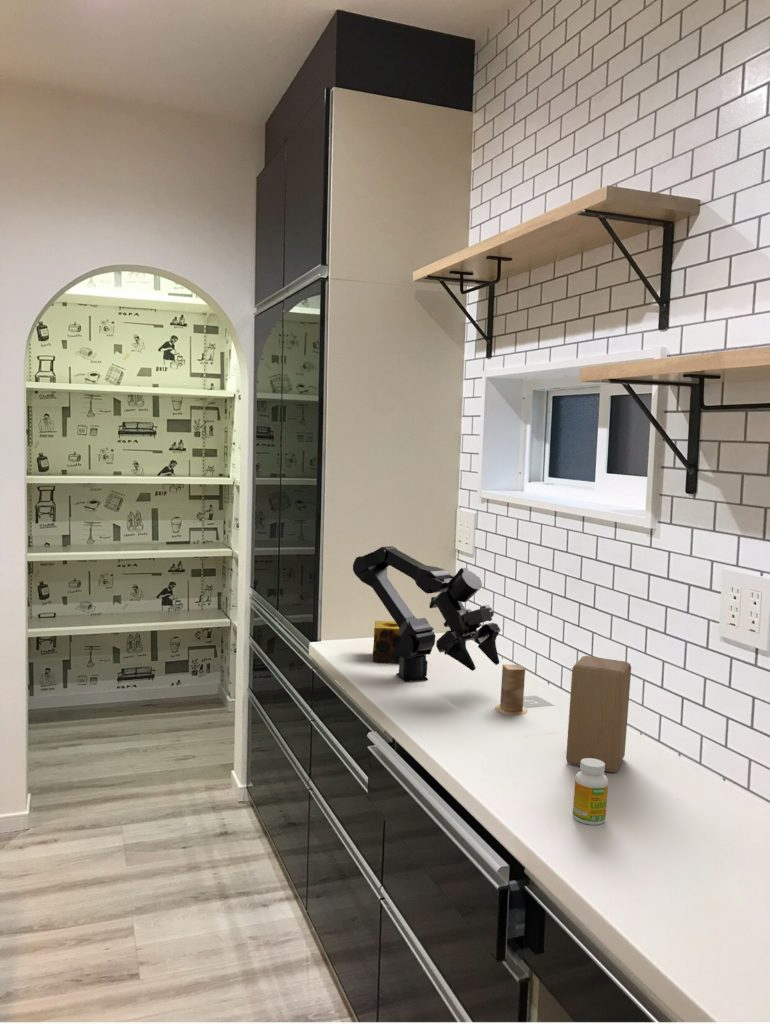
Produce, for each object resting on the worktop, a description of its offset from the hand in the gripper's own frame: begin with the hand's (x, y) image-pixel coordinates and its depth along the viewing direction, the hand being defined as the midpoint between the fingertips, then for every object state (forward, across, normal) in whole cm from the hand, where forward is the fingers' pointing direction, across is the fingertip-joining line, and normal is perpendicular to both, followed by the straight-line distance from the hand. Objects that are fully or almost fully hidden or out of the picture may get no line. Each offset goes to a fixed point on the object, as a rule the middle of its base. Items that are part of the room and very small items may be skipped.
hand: (486, 666), depth 200 cm
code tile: (+11, +9, +1) cm, 14 cm away
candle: (-22, +10, +36) cm, 43 cm away
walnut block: (+12, 0, 0) cm, 12 cm away
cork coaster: (+12, 0, 0) cm, 12 cm away
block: (+33, -12, -21) cm, 41 cm away
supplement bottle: (+42, -36, -30) cm, 63 cm away
